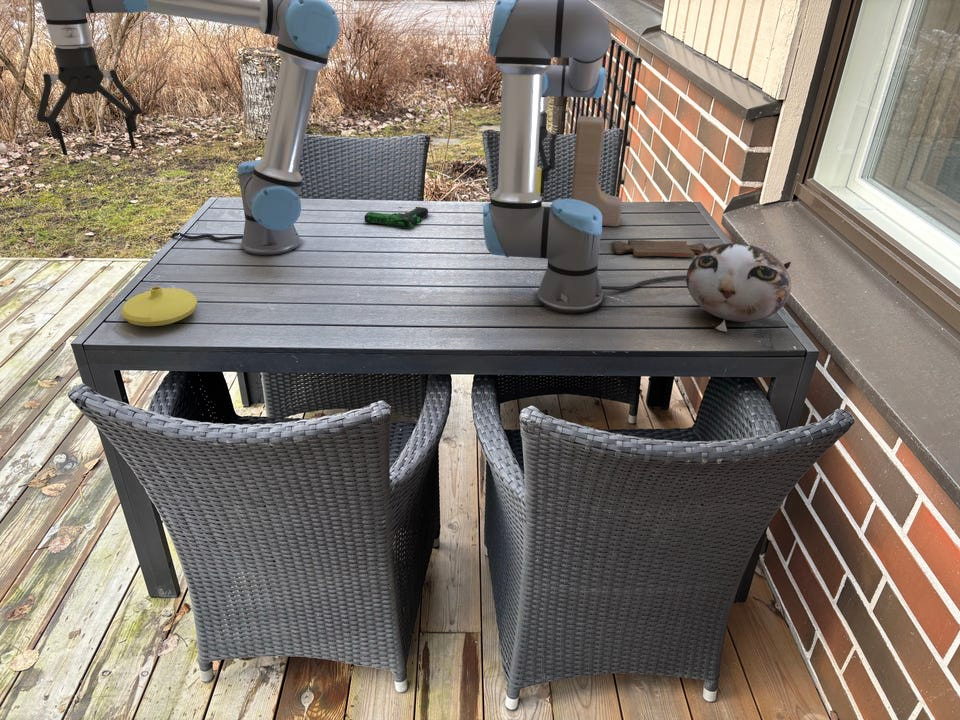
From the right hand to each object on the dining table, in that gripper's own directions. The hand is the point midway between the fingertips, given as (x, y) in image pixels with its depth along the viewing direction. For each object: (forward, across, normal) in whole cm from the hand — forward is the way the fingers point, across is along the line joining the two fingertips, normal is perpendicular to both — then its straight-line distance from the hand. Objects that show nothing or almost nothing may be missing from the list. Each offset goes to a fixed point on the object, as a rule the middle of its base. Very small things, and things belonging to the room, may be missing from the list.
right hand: (529, 192), depth 211 cm
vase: (+10, +93, +54) cm, 108 cm away
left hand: (-22, +104, +35) cm, 112 cm away
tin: (+3, 0, 0) cm, 3 cm away
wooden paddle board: (+10, -32, +26) cm, 42 cm away
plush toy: (+10, -34, +66) cm, 75 cm away
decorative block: (+9, -20, +1) cm, 22 cm away
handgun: (+9, +39, -5) cm, 40 cm away
